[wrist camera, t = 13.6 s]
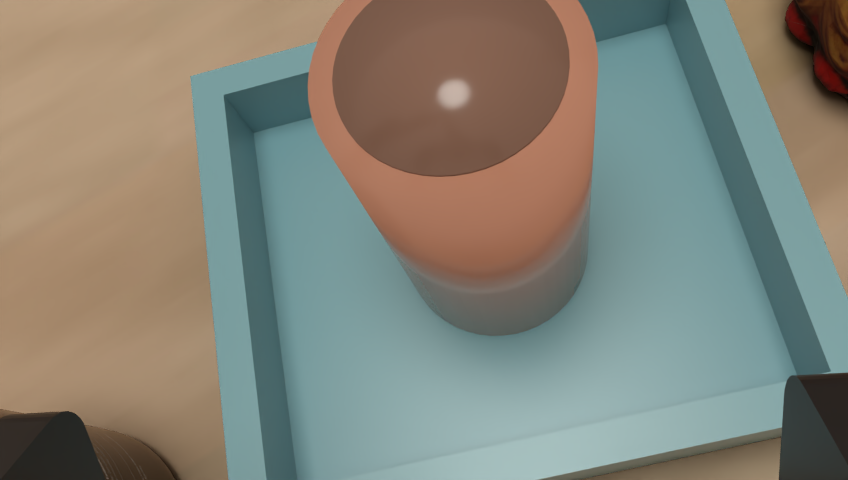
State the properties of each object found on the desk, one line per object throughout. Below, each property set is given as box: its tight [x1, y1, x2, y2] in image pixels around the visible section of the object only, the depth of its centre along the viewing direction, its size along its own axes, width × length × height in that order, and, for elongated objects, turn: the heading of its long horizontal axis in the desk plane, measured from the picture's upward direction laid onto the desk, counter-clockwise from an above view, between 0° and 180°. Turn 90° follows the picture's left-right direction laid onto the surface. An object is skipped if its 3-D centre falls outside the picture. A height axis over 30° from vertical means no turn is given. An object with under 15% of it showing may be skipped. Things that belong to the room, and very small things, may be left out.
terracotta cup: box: [308, 0, 598, 336], centre depth 19 cm, size 5×5×10 cm
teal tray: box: [190, 0, 848, 480], centre depth 23 cm, size 16×14×4 cm
